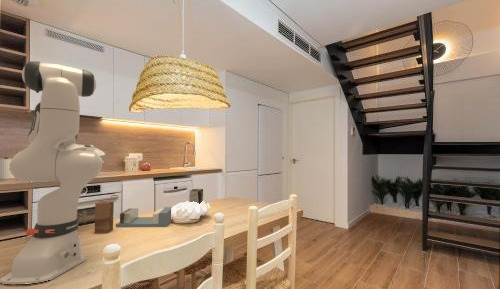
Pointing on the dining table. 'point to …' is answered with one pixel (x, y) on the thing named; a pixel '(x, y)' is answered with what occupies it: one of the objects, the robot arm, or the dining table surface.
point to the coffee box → (196, 195)
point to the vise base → (151, 219)
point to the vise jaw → (129, 215)
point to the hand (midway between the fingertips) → (93, 166)
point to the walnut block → (104, 216)
